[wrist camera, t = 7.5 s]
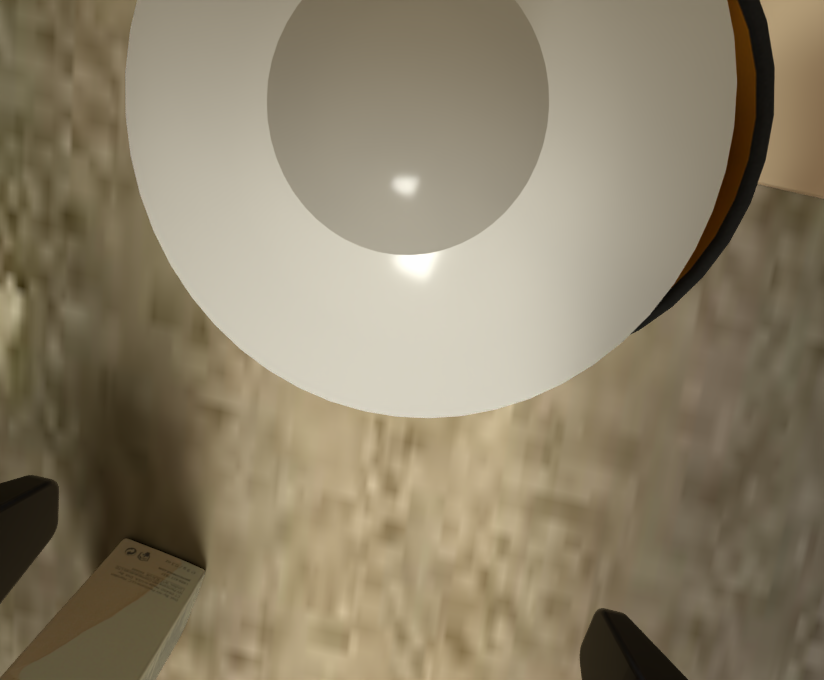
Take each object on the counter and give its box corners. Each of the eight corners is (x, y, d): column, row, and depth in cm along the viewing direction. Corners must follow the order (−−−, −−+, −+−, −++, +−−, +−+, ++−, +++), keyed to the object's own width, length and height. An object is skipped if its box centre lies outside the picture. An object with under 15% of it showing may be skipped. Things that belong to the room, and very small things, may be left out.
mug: (253, 65, 18) (23, -85, 8) (598, 24, 17) (810, -201, 7) (289, 293, 20) (143, 392, 11) (595, 269, 19) (754, 352, 10)
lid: (599, 448, 10) (691, 601, 6) (135, 340, 10) (-49, 429, 6) (811, -118, 8) (1191, -436, 4) (177, -271, 7) (-103, -753, 4)
